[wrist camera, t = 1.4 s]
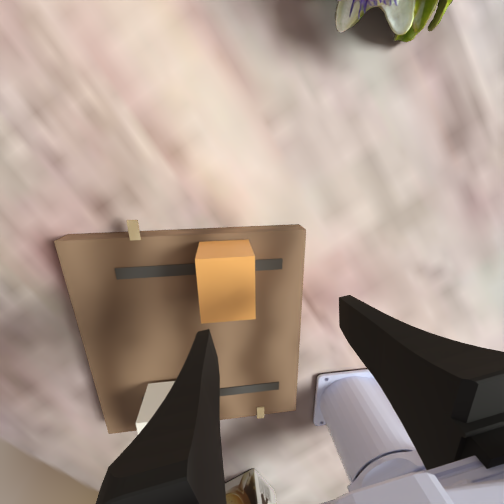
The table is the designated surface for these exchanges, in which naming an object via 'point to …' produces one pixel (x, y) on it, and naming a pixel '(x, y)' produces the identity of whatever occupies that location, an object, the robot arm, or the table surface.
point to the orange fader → (225, 281)
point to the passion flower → (393, 15)
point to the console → (183, 316)
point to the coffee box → (249, 490)
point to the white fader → (152, 402)
